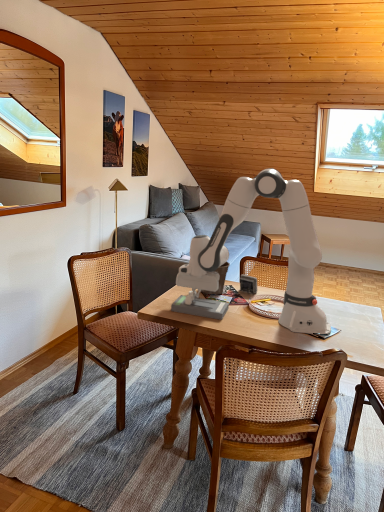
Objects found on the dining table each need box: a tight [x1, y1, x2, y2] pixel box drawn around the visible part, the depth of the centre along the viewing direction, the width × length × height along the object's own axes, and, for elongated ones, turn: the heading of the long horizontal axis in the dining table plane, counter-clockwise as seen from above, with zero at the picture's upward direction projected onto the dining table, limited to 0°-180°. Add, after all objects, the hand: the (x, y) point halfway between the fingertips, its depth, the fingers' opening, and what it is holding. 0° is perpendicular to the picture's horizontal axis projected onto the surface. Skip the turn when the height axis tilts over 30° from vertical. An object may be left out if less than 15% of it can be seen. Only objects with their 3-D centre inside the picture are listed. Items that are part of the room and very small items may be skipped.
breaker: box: [185, 294, 192, 305], centre depth 181 cm, size 2×3×4 cm
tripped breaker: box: [187, 290, 194, 300], centre depth 186 cm, size 2×3×4 cm
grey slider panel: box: [170, 294, 230, 321], centre depth 183 cm, size 24×14×3 cm, turn 74°
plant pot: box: [200, 260, 230, 296], centre depth 207 cm, size 16×16×16 cm
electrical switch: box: [239, 273, 258, 295], centre depth 210 cm, size 9×5×9 cm, turn 57°
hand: (196, 297), depth 186 cm, fingers closed
